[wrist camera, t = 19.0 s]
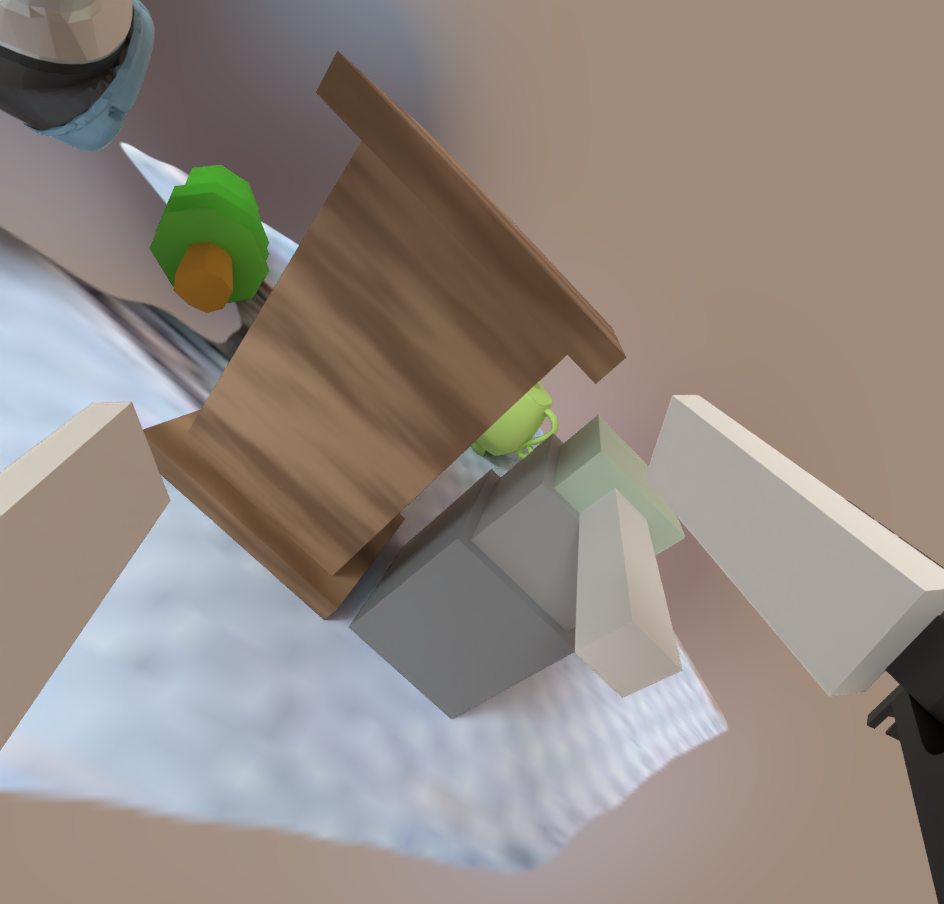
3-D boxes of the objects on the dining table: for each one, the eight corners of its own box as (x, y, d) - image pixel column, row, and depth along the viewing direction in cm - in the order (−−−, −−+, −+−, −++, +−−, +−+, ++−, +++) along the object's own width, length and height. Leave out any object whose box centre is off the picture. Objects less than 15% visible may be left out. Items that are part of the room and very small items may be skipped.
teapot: (532, 460, 90) (591, 410, 83) (494, 485, 71) (567, 423, 64) (457, 371, 93) (508, 316, 87) (401, 372, 74) (462, 302, 67)
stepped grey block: (451, 719, 37) (657, 606, 28) (348, 627, 36) (529, 479, 27) (482, 619, 48) (638, 514, 39) (403, 546, 47) (546, 421, 38)
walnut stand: (324, 620, 35) (626, 357, 22) (130, 447, 33) (337, 50, 20) (394, 529, 48) (612, 327, 35) (256, 400, 46) (433, 136, 33)
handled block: (660, 734, 19) (746, 700, 17) (533, 613, 18) (609, 565, 16) (625, 511, 37) (665, 484, 35) (560, 446, 36) (598, 414, 34)
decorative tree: (202, 212, 38) (225, 111, 56) (104, 277, 40) (157, 159, 58) (293, 307, 47) (288, 194, 65) (210, 357, 49) (228, 234, 67)
